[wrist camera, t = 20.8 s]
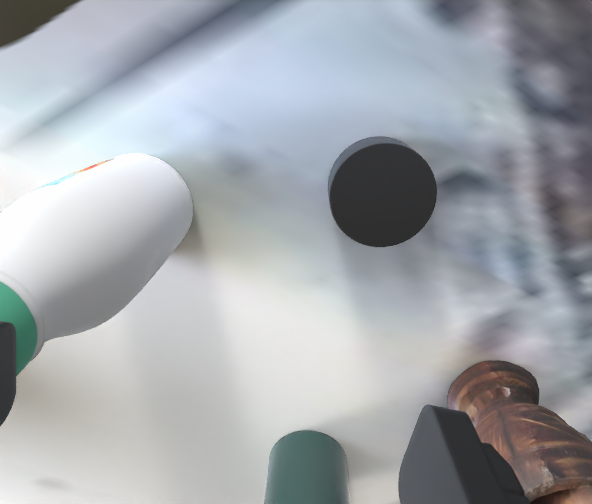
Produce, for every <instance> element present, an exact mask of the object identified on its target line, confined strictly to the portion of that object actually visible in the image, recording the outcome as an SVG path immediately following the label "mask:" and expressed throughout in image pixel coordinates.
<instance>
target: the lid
mask: <svg viewBox="0 0 592 504" xmlns="http://www.w3.org/2000/svg"><path fill="white" fill-rule="evenodd" d="M328 192H329V201H330V208H331V212H332V215H333V217H334V220H335V221H336V223H337V225H338V226H339V228H340V229H341V230H342V231H343V232H344V233H345V234H346V235H347V236H349V237H350V238H351V239H353V240H355V241H357V242H359V243H361V244H364V245H368V246H373V247H387V246H393V245H397V244H399V243H402V242H404V241H406V240H408V239H410V238H411V237H413V236H414V235H416V234H417V233H418V232H419V231H420V230H421V229H422V228H423V227H424V226H425V224H426V223H427V222H428V220H429V218H430V216H431V215H432V212H433V210H434V207H435V203H436V195H437V189H436V182H435V178H434V175H433V172H432V170H431V168H430V167H429V165H428V164H427V162H426V161H425V160H424V159H423V158H422V157H421V156H420V155H419V154H418V153H416V152H415V151H414V150H412V149H411V148H410V147H409V146H407V145H406V144H404V143H402V142H401V141H398V140H396V139H393V138H389V137H370V138H366V139H362V140H360V141H358V142H356V143H354V144H352V145H351V146H349V147H348V148H347V149H345V150H344V151H343V152H342V153H341V154H340V156H339V157H338V158H337V160H336V161H335V163H334V165H333V167H332V169H331V172H330V176H329V181H328Z"/></svg>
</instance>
